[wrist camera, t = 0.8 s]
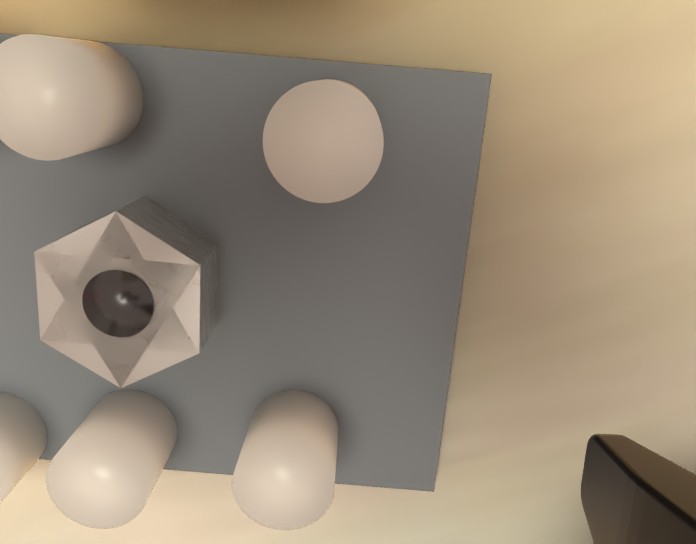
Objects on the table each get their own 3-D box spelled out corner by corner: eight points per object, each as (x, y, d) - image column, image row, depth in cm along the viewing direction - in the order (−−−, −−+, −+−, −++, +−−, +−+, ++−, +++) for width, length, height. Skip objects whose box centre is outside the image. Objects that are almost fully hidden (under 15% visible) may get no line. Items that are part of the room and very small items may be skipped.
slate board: (431, 474, 23) (437, 514, 21) (-220, 420, 23) (-277, 454, 21) (485, 74, 19) (500, 73, 17) (-304, 8, 19) (-386, 1, 17)
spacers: (347, 496, 23) (344, 562, 20) (-36, 464, 23) (-98, 525, 20) (387, 65, 18) (391, 63, 15) (-84, 26, 18) (-174, 16, 15)
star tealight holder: (220, 201, 20) (200, 218, 17) (217, 360, 21) (198, 395, 19) (70, 188, 20) (29, 204, 17) (77, 348, 21) (42, 382, 19)
